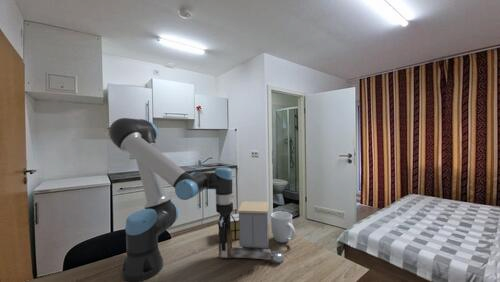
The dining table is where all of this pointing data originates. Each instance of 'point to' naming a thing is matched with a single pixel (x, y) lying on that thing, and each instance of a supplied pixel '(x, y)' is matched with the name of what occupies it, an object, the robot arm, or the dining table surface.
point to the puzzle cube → (235, 226)
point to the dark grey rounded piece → (277, 257)
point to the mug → (282, 226)
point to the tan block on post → (244, 250)
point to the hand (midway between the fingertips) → (225, 253)
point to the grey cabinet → (253, 225)
